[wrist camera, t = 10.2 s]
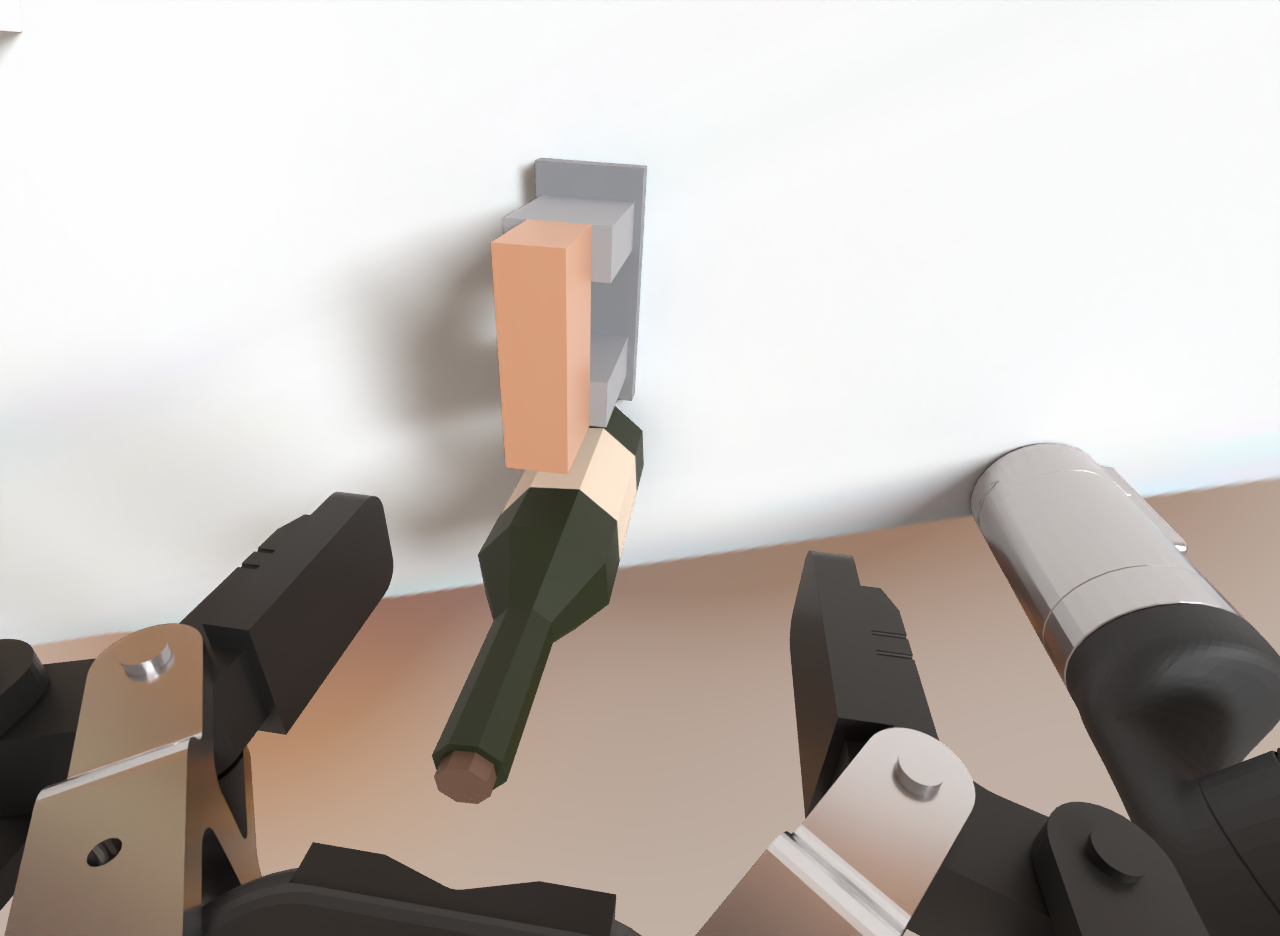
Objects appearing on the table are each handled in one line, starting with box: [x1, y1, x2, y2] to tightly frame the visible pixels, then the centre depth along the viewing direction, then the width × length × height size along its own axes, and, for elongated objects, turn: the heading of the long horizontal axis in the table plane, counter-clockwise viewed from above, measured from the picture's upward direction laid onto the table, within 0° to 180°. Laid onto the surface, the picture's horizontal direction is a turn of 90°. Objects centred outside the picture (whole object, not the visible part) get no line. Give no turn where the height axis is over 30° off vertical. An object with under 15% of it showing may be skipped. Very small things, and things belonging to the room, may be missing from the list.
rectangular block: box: [491, 219, 592, 474], centre depth 35 cm, size 4×12×6 cm, turn 177°
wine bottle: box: [432, 406, 643, 804], centre depth 40 cm, size 8×8×30 cm
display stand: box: [503, 158, 647, 427], centre depth 42 cm, size 7×16×10 cm, turn 177°
